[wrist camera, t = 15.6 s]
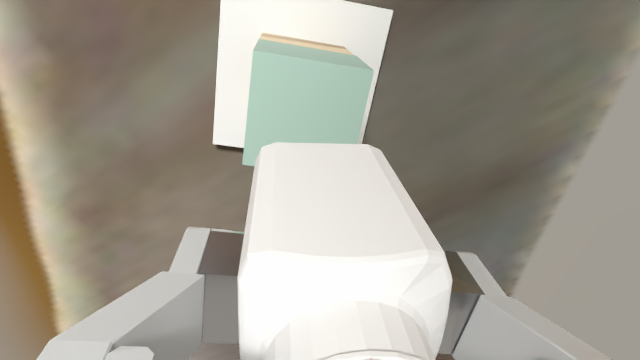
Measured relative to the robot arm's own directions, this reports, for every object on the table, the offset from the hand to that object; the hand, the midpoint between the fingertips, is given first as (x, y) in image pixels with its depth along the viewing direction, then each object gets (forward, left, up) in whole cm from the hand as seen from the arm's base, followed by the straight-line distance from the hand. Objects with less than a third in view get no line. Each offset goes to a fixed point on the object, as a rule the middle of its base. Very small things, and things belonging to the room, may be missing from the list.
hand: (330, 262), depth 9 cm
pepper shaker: (0, 0, -4) cm, 4 cm away
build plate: (0, 0, -23) cm, 23 cm away
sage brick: (0, 0, -17) cm, 17 cm away
